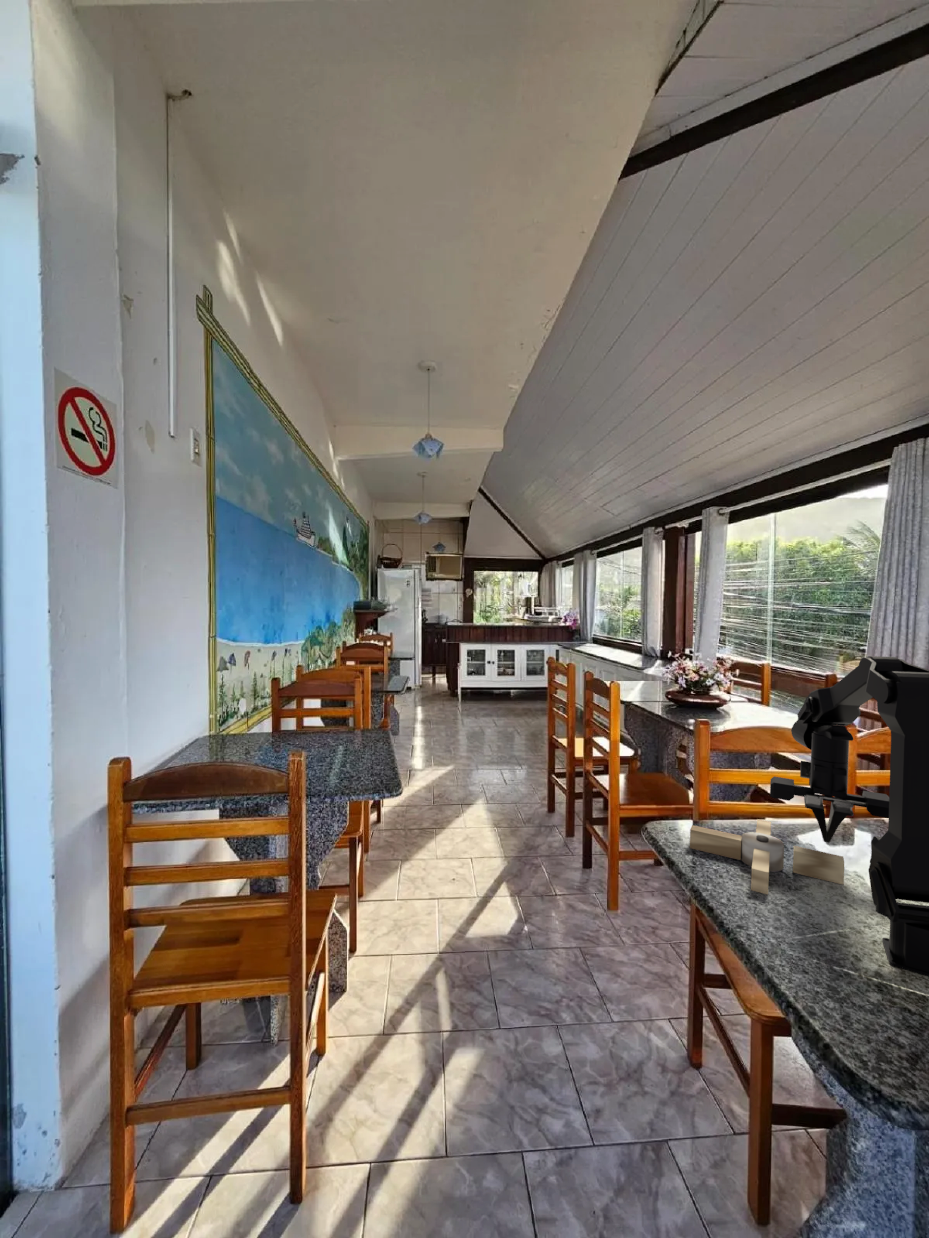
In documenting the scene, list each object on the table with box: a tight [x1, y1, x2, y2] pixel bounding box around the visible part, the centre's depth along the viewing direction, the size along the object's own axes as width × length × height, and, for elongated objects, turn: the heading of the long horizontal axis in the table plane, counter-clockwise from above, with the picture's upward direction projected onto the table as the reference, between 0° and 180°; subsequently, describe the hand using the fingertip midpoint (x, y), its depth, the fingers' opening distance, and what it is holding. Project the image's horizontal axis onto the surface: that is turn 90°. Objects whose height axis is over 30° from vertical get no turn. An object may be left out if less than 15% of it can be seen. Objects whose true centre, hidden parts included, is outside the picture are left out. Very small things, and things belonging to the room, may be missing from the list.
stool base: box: [689, 818, 785, 895], centre depth 101 cm, size 25×16×5 cm, turn 149°
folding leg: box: [792, 845, 845, 885], centre depth 94 cm, size 8×2×4 cm, turn 57°
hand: (826, 841), depth 97 cm, fingers closed
